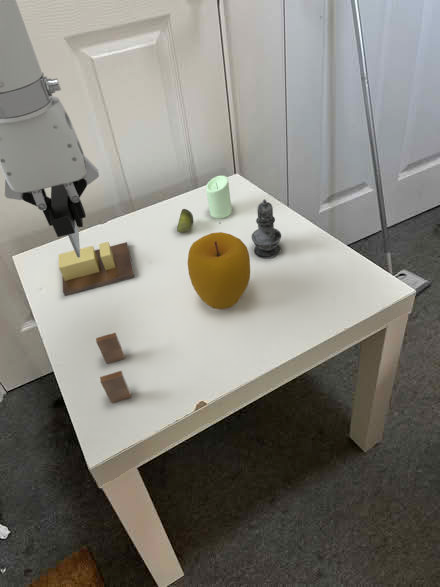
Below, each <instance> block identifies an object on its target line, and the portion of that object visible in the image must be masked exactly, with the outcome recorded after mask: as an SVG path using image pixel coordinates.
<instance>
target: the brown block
mask: <svg viewBox="0 0 440 587" xmlns="http://www.w3.org/2000/svg"><path fill="white" fill-rule="evenodd" d="M95 342H96V344H97V347H98V349H99V351H100V354H101V355H102V357H103V360H104V362H105V364H107V365H108V364H110V363H114V362H118V361H121V360H125V359H126V355H125V352H124V350H123V347H122V344H121V342H120V340H119V337H118V335H117V333H116V332H112V333H109V334H108V333H107V334H105V335H101V336H98V337H95ZM99 380H100V381H99V382H100V384H101V386H102V388H103V390H104V392H105V394H106V396H107V398H108V400H109V402H110V404H113V403H116V402H120V401H124V400H126V399H130V398H132V392H131V389H130V386H129V385H128V383H127V380H126V378H125V375H124V374H123V371H122V370H119V371H115V372H112V373H108V374H105V375H102V376H99Z"/></svg>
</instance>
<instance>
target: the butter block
mask: <svg viewBox="0 0 440 587" xmlns="http://www.w3.org/2000/svg"><path fill="white" fill-rule="evenodd" d="M95 250H96V249H95V248H94V245H90V246H87V247H86V246H85V247H83V248H82V247H81V248H80V257H77V255H76V253H75V250H74V249H73V250H70V251H66V252H62V253H59V254H58V269H59V272H60V273H61V275H62V276H63V278H64V280H65V281H67V280H71V279H74V278H78V277H82V276H86V275H90V274H93V273H97V272H100V271H99V263H98V258H97V255H96V252H95Z"/></svg>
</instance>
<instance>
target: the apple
mask: <svg viewBox="0 0 440 587" xmlns="http://www.w3.org/2000/svg"><path fill="white" fill-rule="evenodd" d="M187 269H188V270H187V271H188V276H189V280H190V282H191V283H190V284H191V285H192V288H193V290H194V291H195V293H196V294H197V295H198V297H199V298H200V300H201V301H202V302H204V303H205V304H206V305H207V306H209V307H210V308H212V309H215V310H225V309H231V307H233V306H235V305H237V303H238V302H239V301H240V299H241V298H242V296H243V295H244V293H245V292H246V290H247V288H248V286H249V282H250V279H251V258H250V252H249V249H248V247H247V245H246V244H245V243H244V242H243V241H242V239H240V238H239V237H237V236H234V235H233V234H230V233H226V232H222V231H220V232H219V231H217V232H212V233H209V234H205V235H204V236H201V237H200V238H198V239H197V240H195V241H193V243H192V244H191V246H190V248H189V250H188V254H187Z"/></svg>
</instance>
